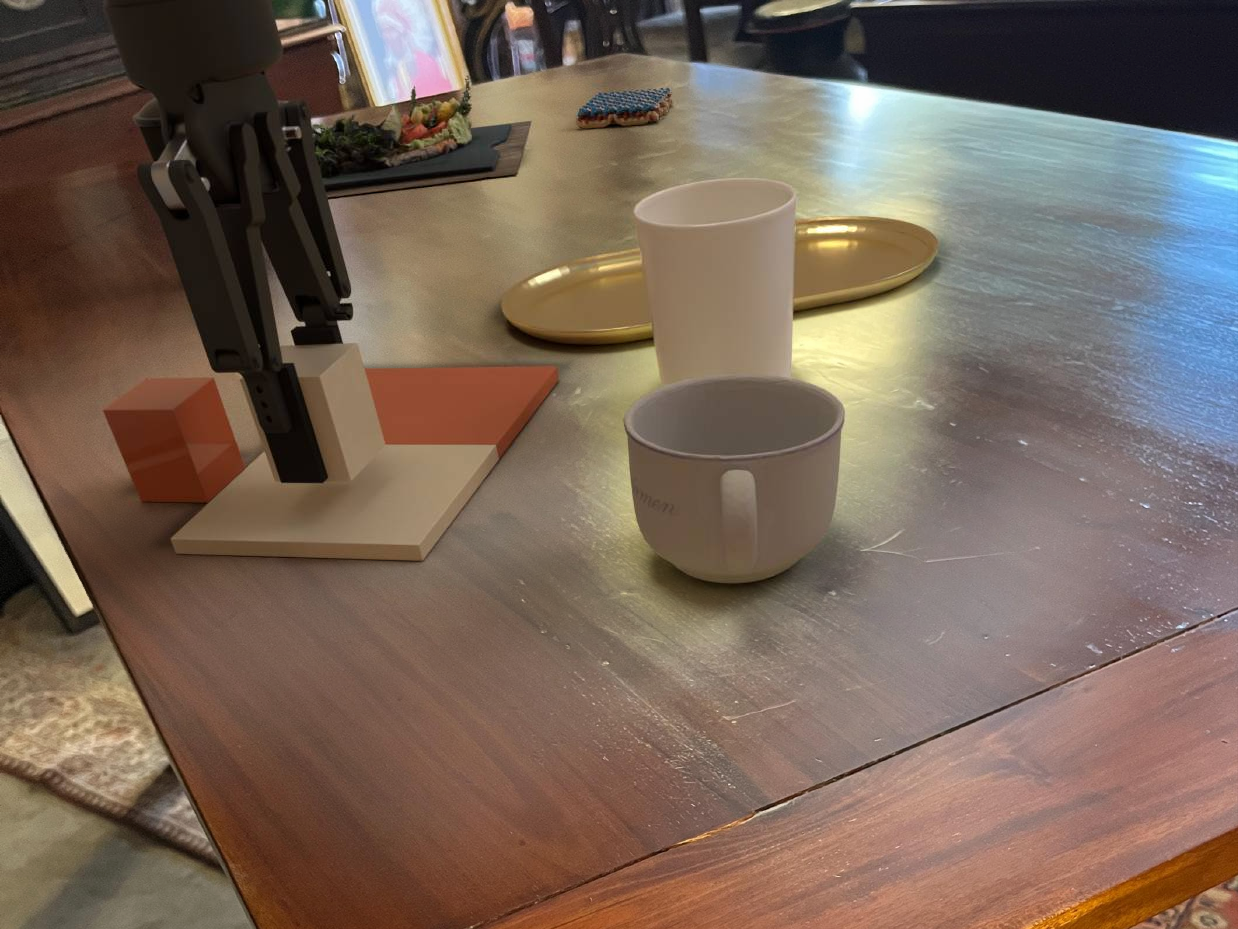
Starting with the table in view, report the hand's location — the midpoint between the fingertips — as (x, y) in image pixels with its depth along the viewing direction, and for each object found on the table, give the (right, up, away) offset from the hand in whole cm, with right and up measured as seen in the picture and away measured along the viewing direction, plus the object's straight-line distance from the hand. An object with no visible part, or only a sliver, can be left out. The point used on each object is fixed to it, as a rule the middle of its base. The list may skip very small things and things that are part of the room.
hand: (325, 458), depth 72 cm
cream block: (0, 0, 0) cm, 0 cm away
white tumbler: (+24, +6, +8) cm, 27 cm away
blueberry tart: (+16, +67, +75) cm, 102 cm away
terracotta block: (-11, +1, +7) cm, 13 cm away
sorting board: (+2, +2, +7) cm, 8 cm away
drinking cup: (-21, +32, +42) cm, 57 cm away
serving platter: (+25, +22, +25) cm, 41 cm away
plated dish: (-13, +59, +71) cm, 93 cm away
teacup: (+24, -9, -8) cm, 27 cm away
